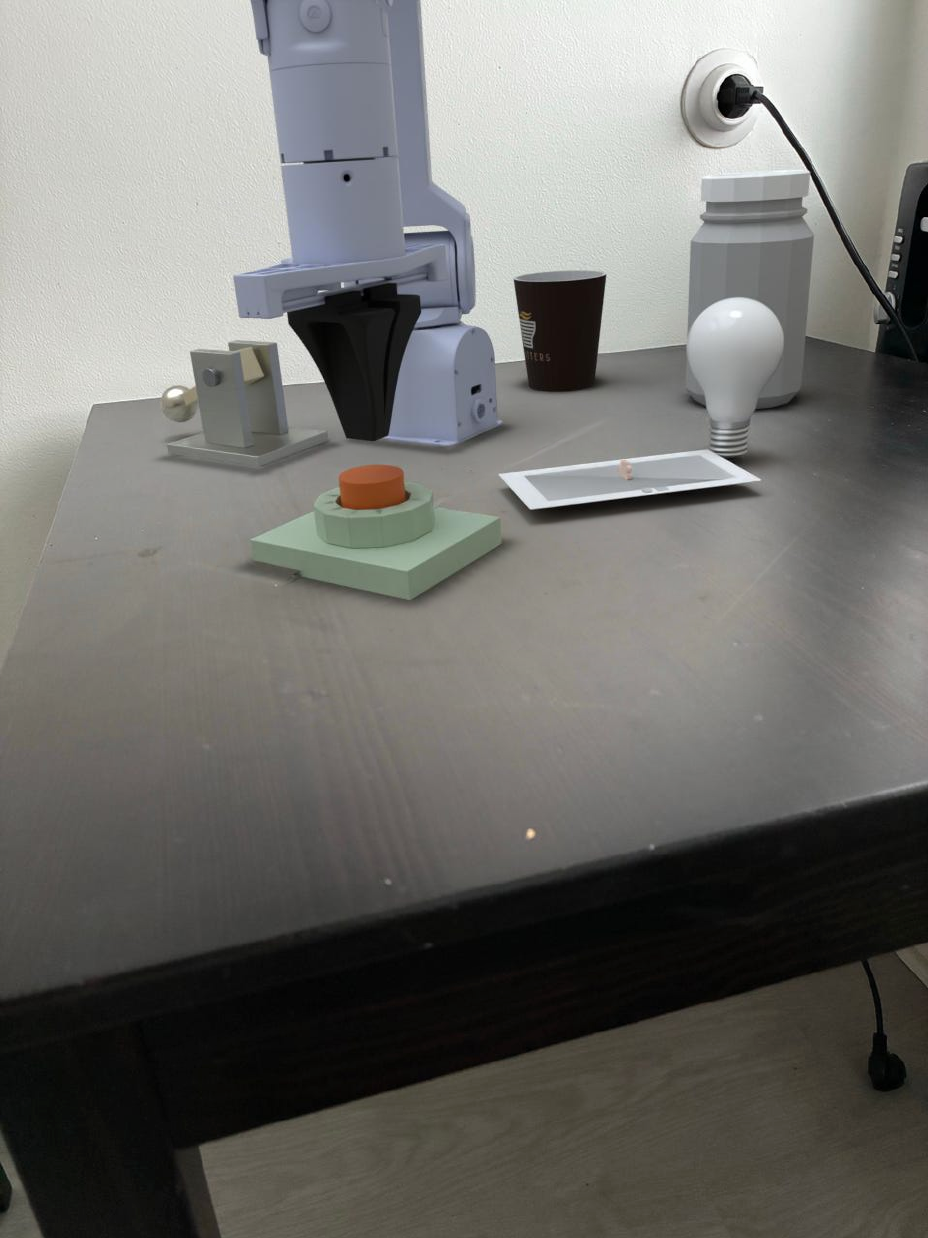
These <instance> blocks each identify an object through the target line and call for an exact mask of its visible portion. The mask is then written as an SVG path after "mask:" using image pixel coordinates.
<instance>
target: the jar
mask: <svg viewBox="0 0 928 1238" xmlns="http://www.w3.org/2000/svg"><path fill="white" fill-rule="evenodd" d="M810 177H811V171H809V170H808V169H786V170H785V169H784V170H782V169H781V170H762V171H745V172H731V173H729V172H728V173H717V174H716V173H715V174H708V175H704V176H702V178H701V185H700V188H701V189H700V202H704V203H705V211H704V212H702V213H701V214H699V219H700V220H701V221H703V222H702V224H701V226H700V227H699V228H698V230H697V231H696V233H695V234H694V236H693V237H692V238H691V239H690V251H689V252H690V253H689V276H688V277H689V280H688V305H687V306H688V307H687V332H686V333H687V334H686V335H687V336H686V340H687V339H688V335H689V332H690V329H691V327H692V325H693V323H694V322H695V320H696V319H697V318H698V316H699V315H700V314H701V313H702V312H703V311H704V310H705V309H706V308H708V307H709V306H711V305H712V304H714V303H716V302H718V301H720V300H723V299H727V298H732V297H745V298H750V299H754V300H756V301H759V302H761V303H762V304H764V305H766V306H767V307H768V308H769V309H770V310H771V311H772V312H773V313H774V314H775V315H776V317H777V318H778V320H779V322H780V324H781V327H782V330H783V335H784V351H783V355H782V359H781V362H780V364H779V366H778V368H777V370H776V371H775V373H774V374H773V376H772V377H771V379H770V380H769V381H768V382H767V384H766V385H765V387H764V388H763V389H762V391H761V393H760V395H759V398H758V401H757V405H756V408H755V410H760V409H770V408H776V407H780V406H782V405H786V404H789V402H791V400H792V399H793V398H794V397H795V396H796V395H797V394H798V393H799V391H800V389H801V387H802V382H803V372H804V371H803V370H804V358H805V347H806V335H807V325H808V324H807V323H808V312H809V311H808V310H809V298H810V288H811V275H812V264H813V263H812V262H813V251H814V239H815V233H814V232H813V230H812V229H811V227H810V226H809V225H808V223H807V222H806V220H805V218H804V216H805V215H807V213H808V210H809V209H808V208H807V207H804V206H803V200H804V199H803V198H806V197H808V196H809V191H810V180H811V179H810ZM685 363H686V365H685V390H686V391H687V392H688V393H689V395H690V396H691V397H692V399H693V400H694V401H695V402H697V403H698V404H700V405H701V406H705V407H706V401H705V396H704V393H703V390H702V388H701V387H700V385H699V383H698V382H697V380H696V378H695V377H694V375H693V373H692V371H691V369H690V367H689V364H688V360H687V359H686V362H685Z"/></svg>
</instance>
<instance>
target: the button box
mask: <svg viewBox="0 0 928 1238" xmlns="http://www.w3.org/2000/svg"><path fill="white" fill-rule="evenodd" d="M404 483H405V495H406V501H405V502H403V503H401V504H399V505H396V506H391V507H386V508H381V509H371V510H353V509H347V508H342V504H341V495H340V487H339V486H337V487H334V488H332V489H330V490H328V491H325V492H322V493H321V494H319V495H318V496H317V498H316V499H315V501H314V503H313V505H312V506H313V510H312V511H310V512H308V513H305V514H303V515H301V516H299V517H297V518H295V519H292V520H290V521H288V522H286V523H284V524H281V525H280V526H277V527H275V528H272V529H270V530H268V531H266V532H263V533H262V534H259V535H257V536H255V537H253V538H252V537H251V538H250V547H251V552H252V559H253V562H258V563H264V564H268V565H273V566H278V567H282V568H287V569H292V570H296V571H297V572H294V573H293V574H291V575H293V576H298V577H301V578H306V579H312V580H316V581H320V582H324V583H329V584H333V585H338V586H343V587H347V588H352V589H356V590H361V591H366V592H370V593H375V594H380V595H382V596H383V595H384V596H388V597H393V598H398V599H401V600H407V601H412V600H413V599H415V598H417V597H419V596H420V595H421V594H423V593H425V592H426V591H428V590H429V589H432V588H433V587H434V586H436V585H438V584H439V583H441V582H442V581H445V579H447V578H449V577H450V576H452V575H453V574H455V573H457V572H458V571H460V570H462V569H463V568H466V567H467V566H468V565H470V564H472V563H473V562H474V561H476V560H478V559H479V558H481V557H482V556H484V555H486V554H487V553H490V551H492V550H494V549H495V548H497V547H499V546H500V545H502V525H501V524H502V523H501V517H500V516H495V515H489V514H482V513H476V512H470V511H464V510H457V509H451V508H444V507H438V506H434V494H433V490H432V489H430V488H428V487H426V486H425V485H423V484H421V483H420V482H412V481H406V480H404Z"/></svg>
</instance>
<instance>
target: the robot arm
mask: <svg viewBox="0 0 928 1238" xmlns="http://www.w3.org/2000/svg"><path fill="white" fill-rule="evenodd" d="M249 2H250V5H251V10H252V16H253V23H254V32H255V38H256V40H257V44H258V50H259V53H260V55H263V56H264V57H267V63H268V72H269V81H270V89H271V96H272V97H271V98H272V105H273V115H274V122H275V130H276V137H277V147H278V155H279V162H280V164H282V165H280V171H281V180H282V184H283V186H282V187H283V194H284V202H285V211H286V218H287V219H286V220H287V229H288V235H289V244H290V251H291V257H288V258H283V259H281V260H280V263H278V264H274V265H271V266H267V267H263V268H259V269H256V270H251V271H246V272H242V273H236V274H233V276H232V277H233V278H232V279H233V285H234V292H235V298H236V305H237V312H238V317H239V318H240V319H260V320H261V319H263V320H272V319H277V318H281V317H283V316H284V314H285V313H286V316H287V324H288V326H289V328H291V329H292V331H293V333H295V335H296V336H297V337H298V339H299V340H300V342H302V344H303V346H304V347H305V349H306V350H307V352H308V354H309V355H310V357H311V359H312V360H313V362H314V364H315V365H316V367H317V369H318V371H319V373H320V376H321V378H322V380H323V382H324V384H325V386H326V389H327V391H328V393H329V396H330V398H331V401H332V403H333V406H334V409H335V411H336V414H337V417H338V419H339V423H340V425H341V428H342V430H343V433H344V436H345V439H348V440H349V439H350V440H356V441H357V440H358V441H367V442H377V441H379V440H387V441H396V442H397V441H398V442H405V443H412V444H413V443H414V444H420V445H421V444H422V445H430V446H438V447H454V446H456V445H458V444H461V443H463V442H466V441H467V440H469V439H472V438H474V437H476V436H479V435H481V434H483V433H485V432H488V431H490V430H492V429H494V428H497V427H499V426H501V425H503V421H502V420H499V419H498V402H497V401H498V400H497V378H496V358H495V350H494V346H493V342H492V340H491V337H490V335H489V334H488V332H487V331H486V330H485V329H484V328H482V327H480V326H477V325H472V324H471V325H469V324H466V323H465V322H463V321H462V320H461V319H462V318H463V315H470V314H471V311H472V310H473V309H474V308H475V306H476V302H477V301H476V299H477V298H476V297H477V294H476V290H477V289H476V287H477V286H476V264H475V263H476V262H475V249H474V248H475V247H474V239H473V235H472V228H471V227H472V226H471V216H470V214H469V213H468V212H467V209H466V206H465V205H464V204H463V203H462V202H461V201H460V200H459V199H457V198H456V197H454V196H452V195H451V194H450V193H448V192H447V191H445V190H444V189H443V188H441V187H440V186H438V185H437V184H436V183H435V182H434V181H433V172H432V157H431V143H430V142H431V141H430V125H429V111H428V96H427V82H426V79H427V78H426V67H425V66H426V65H425V63H426V62H425V52H424V51H425V49H424V48H425V47H424V34H423V33H424V32H423V18H422V5H421V4H422V3H421V0H250V1H249ZM283 164H284V165H283ZM428 226H437V227H441V228H444V229H445V230H435V231H418V232H417V231H415V232H405V230H404V228H410V227H428ZM342 284H343V287H342Z"/></svg>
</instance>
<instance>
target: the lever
mask: <svg viewBox="0 0 928 1238" xmlns="http://www.w3.org/2000/svg"><path fill="white" fill-rule="evenodd" d="M237 352H240V356H241V363H242V369H243V376H244V383H245V387H246V386H248V385H249V384H251V383H253V382H255V381H256V380H258V379H260V378H262V377H264V374H263V372H262V370H261V367H260V365H259V363H258V361H257V358H256V356H255V354H254V352H253V349H252V347H249V348H245V349H241V350H237ZM160 408H161V411H162V413H163V414H164V415H165V417H166V418H167V419H168V420H170V421H172V422H175V423H186V422H189V421H190V420H192V419H193V418H194V417H195V416H196V414H197V413H198V410H199V403H198V397H197V391H196V385H194V386H192V387H191V388H189V387H188V386H185V385H171V386H170V387H168V388H166V390H164V392H163V393H162V395H161V397H160Z"/></svg>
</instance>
